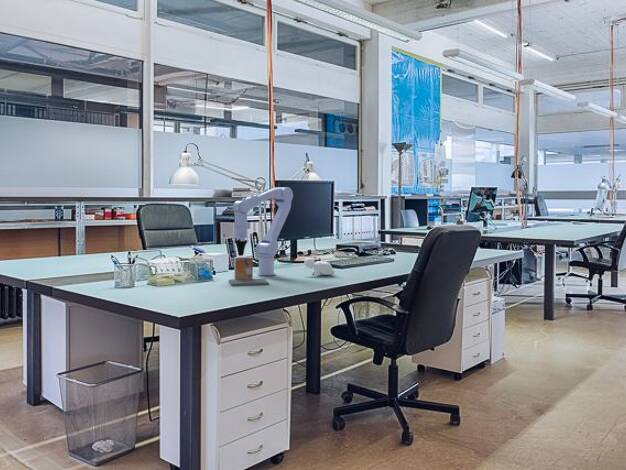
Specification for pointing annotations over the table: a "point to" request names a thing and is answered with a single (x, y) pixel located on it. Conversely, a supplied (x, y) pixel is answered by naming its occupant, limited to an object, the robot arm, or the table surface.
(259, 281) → the mat
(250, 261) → the small box
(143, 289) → the table surface
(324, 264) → the white animal figurine
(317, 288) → the table surface
